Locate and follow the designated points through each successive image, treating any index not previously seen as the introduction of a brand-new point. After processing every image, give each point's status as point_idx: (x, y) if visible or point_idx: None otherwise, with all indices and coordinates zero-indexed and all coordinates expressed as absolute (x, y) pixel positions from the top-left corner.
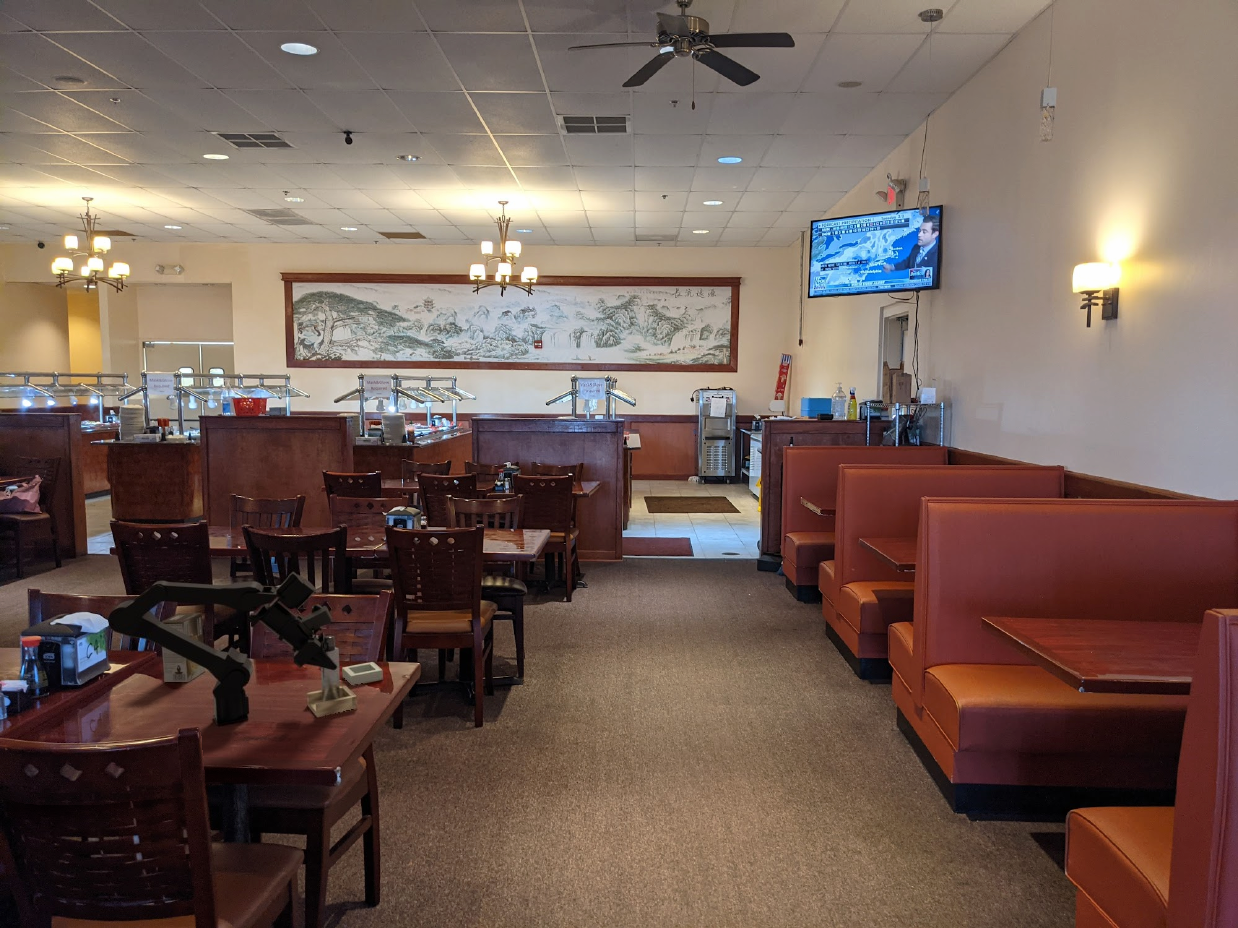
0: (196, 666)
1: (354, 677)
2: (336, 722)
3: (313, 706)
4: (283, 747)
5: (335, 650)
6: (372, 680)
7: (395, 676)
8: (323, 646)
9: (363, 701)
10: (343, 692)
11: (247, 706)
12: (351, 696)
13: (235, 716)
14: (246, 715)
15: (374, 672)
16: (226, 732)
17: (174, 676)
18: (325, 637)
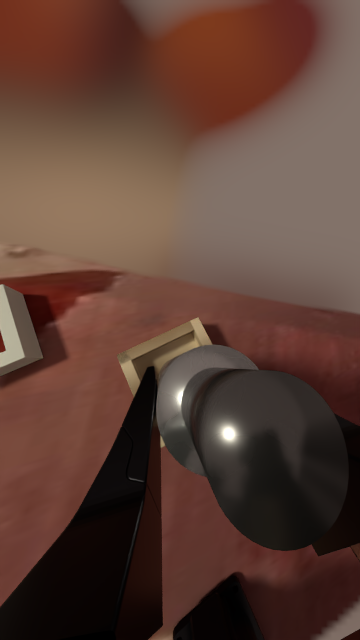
0: None
1: (27, 349)
2: (253, 349)
3: None
4: (355, 419)
5: (231, 359)
6: (27, 313)
7: (11, 270)
8: (150, 480)
9: (155, 317)
10: (138, 357)
11: (228, 627)
12: (197, 327)
13: (253, 631)
14: (223, 595)
15: (10, 303)
16: (303, 599)
17: None
18: (295, 513)
